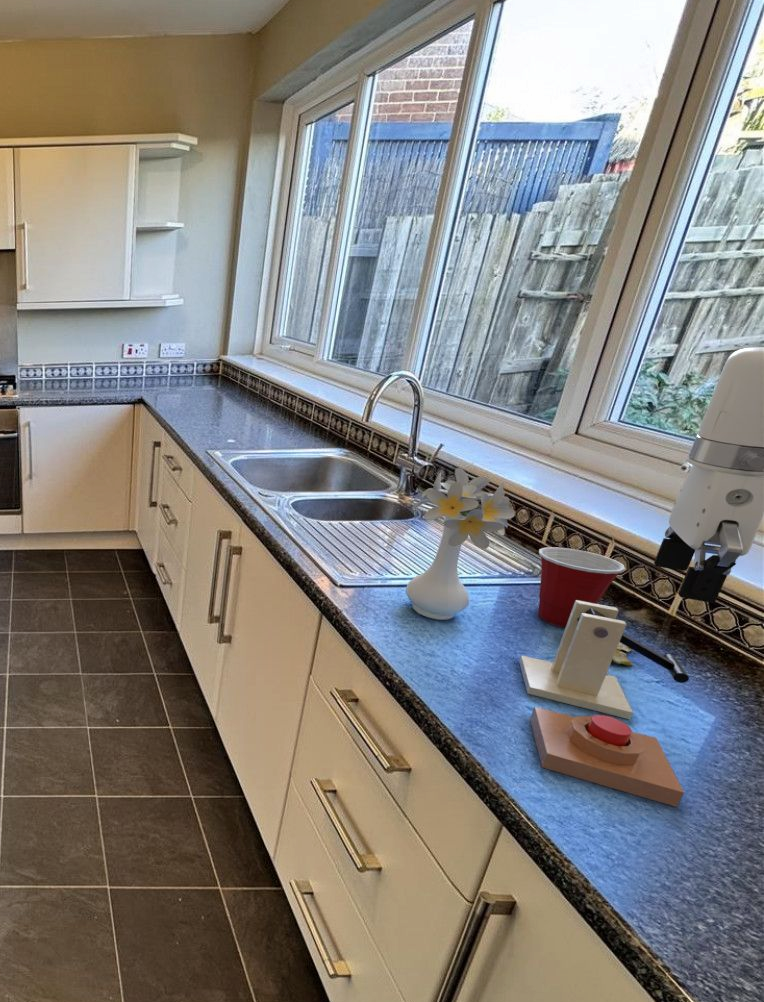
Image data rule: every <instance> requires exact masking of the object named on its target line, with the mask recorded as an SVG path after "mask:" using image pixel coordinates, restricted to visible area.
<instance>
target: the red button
mask: <svg viewBox="0 0 764 1002" xmlns="http://www.w3.org/2000/svg"><path fill="white" fill-rule="evenodd" d="M592 716H593V717H592V718H591V721H590V723H589V725H588V728H587V730H588V732H589V733H590V734H591V735H592V736H593V737H595V738H597V739H599V740H601V741H603V742H605V743H608V744H612V745H615V746H625V745H626V744H627V742H628V740H629V738H630V735H631V733H632V732H633V731H632V729H631V727H630V726H629V725H628V724H626V723H625V722H623V721H622V720H620V719H618V718H615V717H612V716H609V715H605V714H595V715H592Z"/></svg>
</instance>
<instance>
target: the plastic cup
mask: <svg viewBox="0 0 764 1002" xmlns="http://www.w3.org/2000/svg"><path fill="white" fill-rule="evenodd" d="M538 555H539V557H540V561H541V563H540V565H541V572H540V573H541V575H540V582H539V583H540V585H539V594H538V595H539V597H538V598H539V600H538V601H539V602H538V617H539V618H540V619H541V620H543V621H545V622H546V623H548V624H551V625H553V626H556V627H559V628H560V627H561V628H564V629H565V628H566V625H567V623H568V620H569V617H570V614H571V612H572V609H573V606H574V603H575V601H576V600H578V601H584V602H589V603H594V604H599V602H600V600H601V599H602V597H603V596H604V594H606V591H607V590H608V589H609V587H610V585H612V584H613V582H614V580H615V579H617V577H618V575H620V574H621V573H622V572H624V571H625V570H626V568H625V567H626V566H625V565H624V564H623V563H621V562H619V561H618V560H617V559H613V558H610V557H608V556H605V555H601V554H597V553H594V552H589V551H587V550H586V551H585V550H580V549H574V548H569V547H568V548H567V547H556V546H553V547H552V546H551V547H550V546H549V547H542V548H539V549H538Z"/></svg>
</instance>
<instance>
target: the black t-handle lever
mask: <svg viewBox="0 0 764 1002" xmlns="http://www.w3.org/2000/svg"><path fill="white" fill-rule="evenodd" d="M585 614H590V615H596V616H601V617H606V616H605V615H603V614H601V613H599V612H598V611H596V610H594V609H592V608H590V609H589V610H588V611H586V612H585ZM606 618H608V617H606ZM579 619H580V617H579V618H578V619H577V621H578V622H579ZM620 643H622V644H624V645H626V646H627V647H629V648H631V649H632V651H635V652H636V653H637V654H640V655H641V656H643V657H645V658H647V659H648V660H650V661H652V662H653V663H655V664H656V665H658V666H660V667H662V668H664V669H666V670H667V671H668V673H669V674H670V676H671V678H672V679H673V681H674V682H676V683H679V684H684V683H687V682H689V680H690V676H689V675H688V673H687V672H686V670H685V669H684V667H683V666H682V665H681V663H680V661H679V660H678V658H677V657H676V656H675V655H674V654H671V653H666V654H663V655H662V654H661V653H659V652H657V651H655V650H653V649H652V648H650V647H648V646H647V645H645V644H643V643H641V642H639V641H638V640H636V639H635V638H633V637H631V636H629V635H627V634H626V633H624V632H623V634H622V637H621V639H620Z"/></svg>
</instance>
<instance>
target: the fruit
mask: <svg viewBox="0 0 764 1002" xmlns="http://www.w3.org/2000/svg"><path fill="white" fill-rule="evenodd" d="M623 651H626V652H627V653H630V652H631V651H633V649H631V648H629V647H627V646H626V645H624V644H622V643H620V642H619V644H618V647H617V649H616V652H615V654H614V657H613V659H612V662H613V663H614V664H617V665H624V666H634V664H633V662H631V661H630V660H629V659H628V654H627V653H625V652H623Z"/></svg>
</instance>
